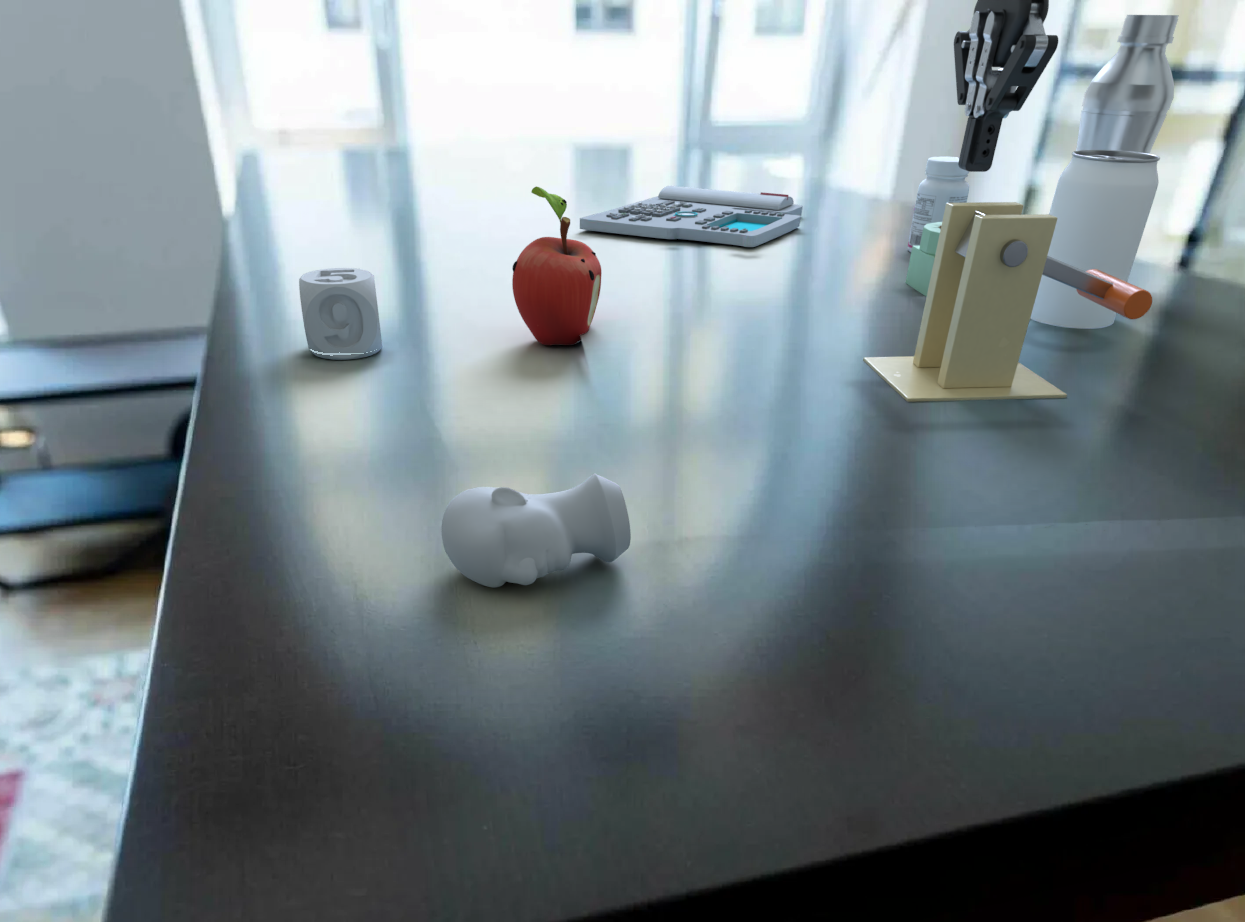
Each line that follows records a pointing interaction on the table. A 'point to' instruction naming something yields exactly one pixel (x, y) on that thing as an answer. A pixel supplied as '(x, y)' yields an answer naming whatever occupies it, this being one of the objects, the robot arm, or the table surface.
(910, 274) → the button block
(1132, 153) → the can
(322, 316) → the die
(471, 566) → the white mannequin head
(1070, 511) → the table surface
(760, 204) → the office telephone
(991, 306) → the switch bracket
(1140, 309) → the switch lever
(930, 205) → the pill bottle
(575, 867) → the table surface
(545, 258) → the apple
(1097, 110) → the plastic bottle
